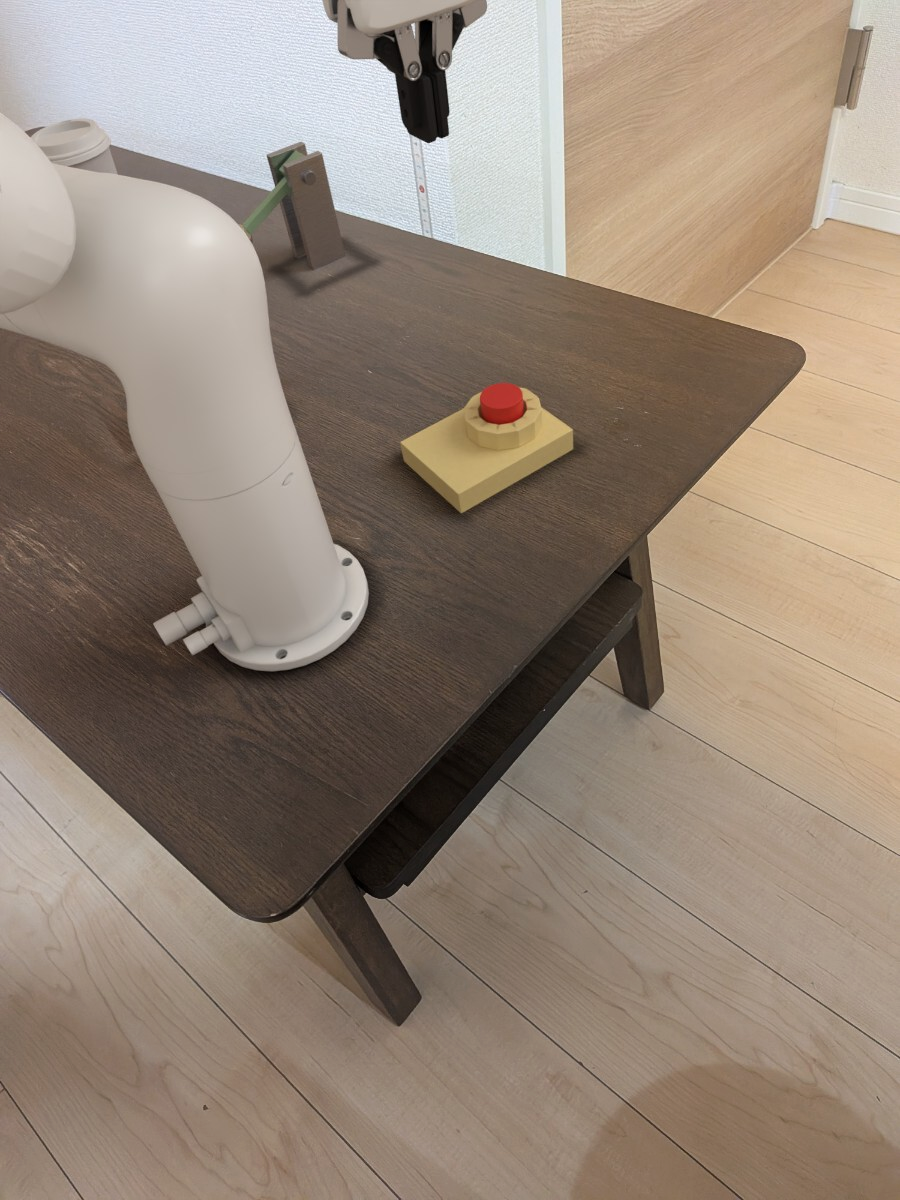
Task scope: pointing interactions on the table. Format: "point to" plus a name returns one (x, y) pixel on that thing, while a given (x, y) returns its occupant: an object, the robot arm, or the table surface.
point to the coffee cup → (77, 145)
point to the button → (501, 403)
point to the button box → (485, 451)
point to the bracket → (308, 206)
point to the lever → (268, 202)
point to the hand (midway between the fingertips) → (428, 134)
